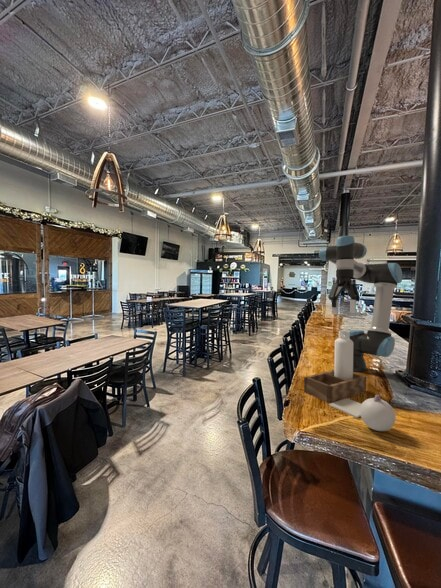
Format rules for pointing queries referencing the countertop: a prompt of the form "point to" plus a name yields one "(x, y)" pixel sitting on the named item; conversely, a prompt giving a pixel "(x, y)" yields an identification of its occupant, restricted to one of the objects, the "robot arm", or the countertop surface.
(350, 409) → the coaster
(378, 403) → the ornament
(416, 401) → the countertop surface
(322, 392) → the carrier
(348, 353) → the bottle
